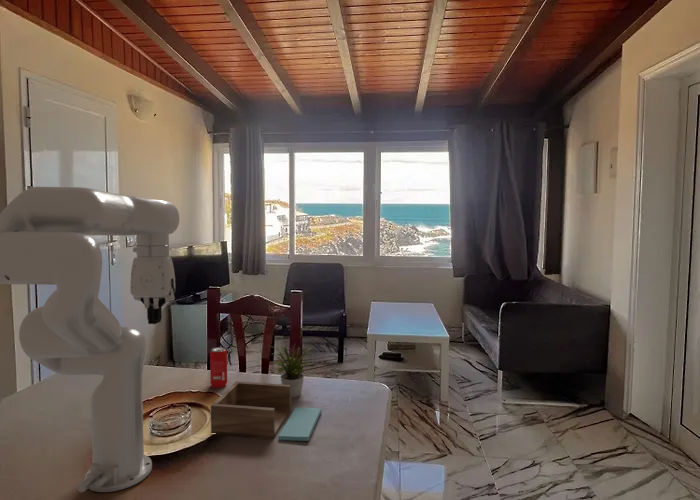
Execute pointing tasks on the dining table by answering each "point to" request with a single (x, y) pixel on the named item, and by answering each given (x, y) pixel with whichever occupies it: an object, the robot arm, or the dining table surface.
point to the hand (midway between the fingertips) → (154, 322)
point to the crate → (251, 410)
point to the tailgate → (300, 424)
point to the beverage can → (218, 367)
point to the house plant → (292, 371)
